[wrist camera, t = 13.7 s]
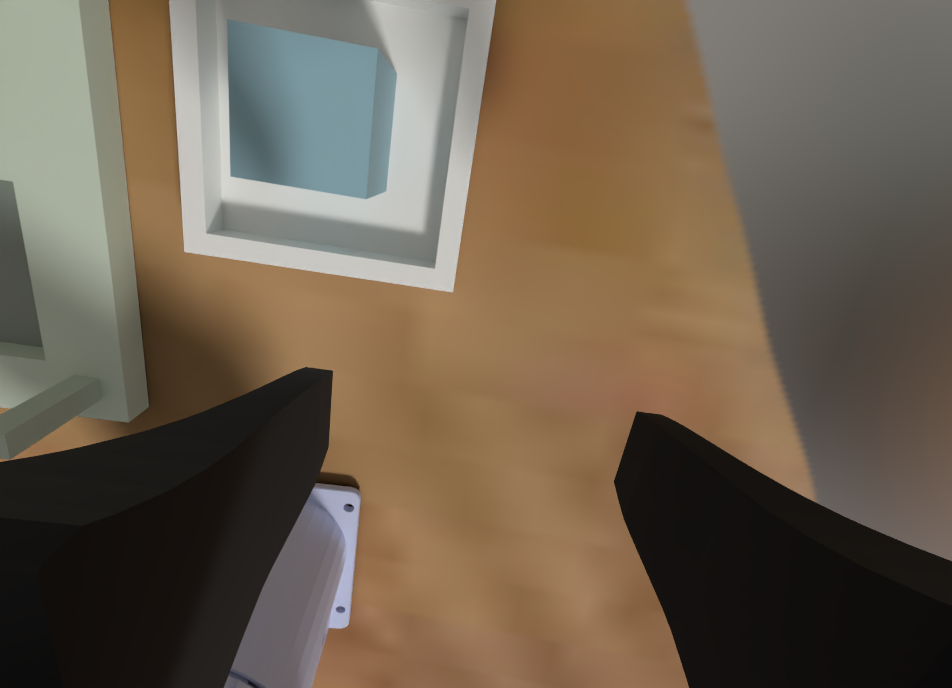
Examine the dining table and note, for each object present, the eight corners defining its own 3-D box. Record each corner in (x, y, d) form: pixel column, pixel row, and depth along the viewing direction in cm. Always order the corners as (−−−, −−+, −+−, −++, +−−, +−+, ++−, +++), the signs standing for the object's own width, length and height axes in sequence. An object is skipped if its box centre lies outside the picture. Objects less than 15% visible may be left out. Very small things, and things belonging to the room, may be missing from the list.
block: (386, 191, 18) (365, 199, 14) (279, 173, 18) (230, 176, 14) (396, 73, 17) (377, 48, 13) (281, 51, 16) (226, 18, 12)
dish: (453, 281, 20) (452, 292, 18) (209, 243, 19) (184, 251, 17) (495, 1, 16) (498, -17, 15) (196, -59, 15) (164, -86, 14)
